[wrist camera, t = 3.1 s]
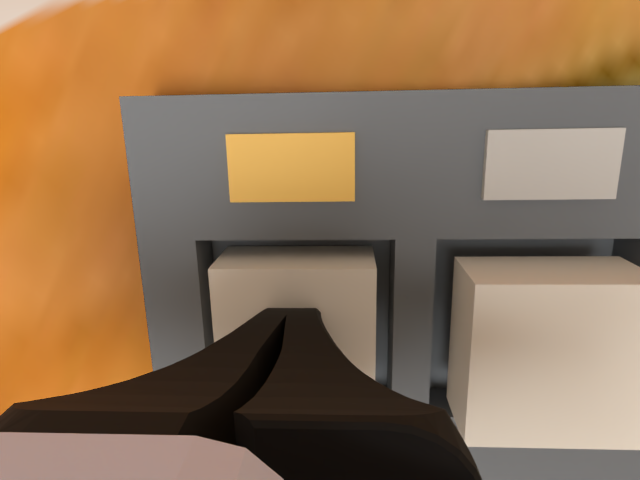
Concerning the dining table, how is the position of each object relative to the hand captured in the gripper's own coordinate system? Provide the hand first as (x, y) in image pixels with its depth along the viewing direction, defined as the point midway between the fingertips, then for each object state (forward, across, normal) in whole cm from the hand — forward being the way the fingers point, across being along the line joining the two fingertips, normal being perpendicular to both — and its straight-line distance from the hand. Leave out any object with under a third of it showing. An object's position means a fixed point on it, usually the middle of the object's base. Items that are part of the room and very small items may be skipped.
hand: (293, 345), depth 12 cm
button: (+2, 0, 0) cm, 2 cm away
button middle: (+1, -6, 0) cm, 6 cm away
